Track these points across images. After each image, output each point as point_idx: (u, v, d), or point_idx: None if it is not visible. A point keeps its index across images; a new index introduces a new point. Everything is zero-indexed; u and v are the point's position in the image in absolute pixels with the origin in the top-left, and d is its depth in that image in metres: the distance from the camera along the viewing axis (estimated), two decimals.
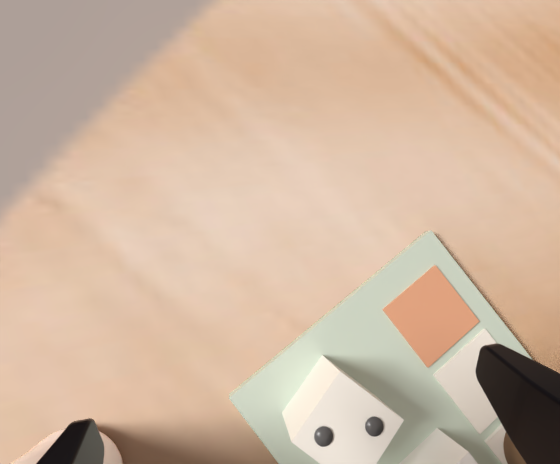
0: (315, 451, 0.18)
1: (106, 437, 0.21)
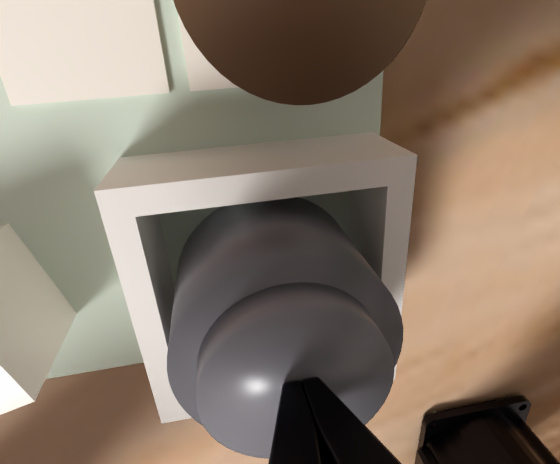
0: None
1: None
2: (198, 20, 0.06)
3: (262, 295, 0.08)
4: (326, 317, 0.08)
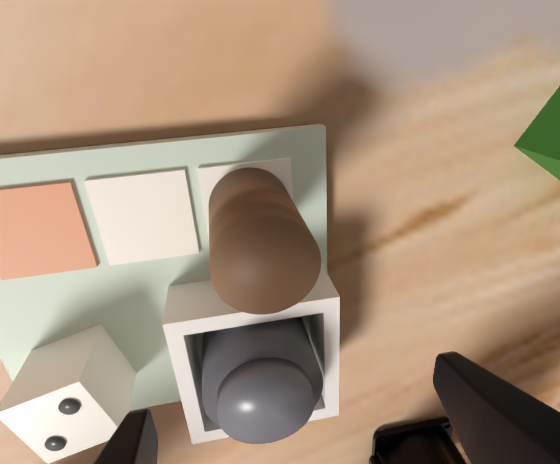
0: (67, 451, 0.19)
1: None
2: (223, 291, 0.14)
3: (248, 365, 0.18)
4: (278, 376, 0.17)
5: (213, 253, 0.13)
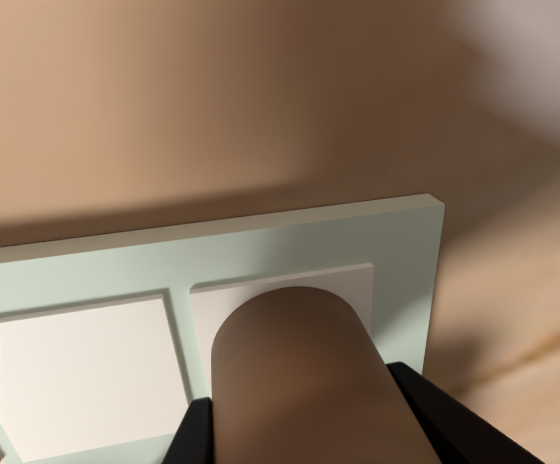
0: None
1: None
2: None
3: None
4: None
5: None
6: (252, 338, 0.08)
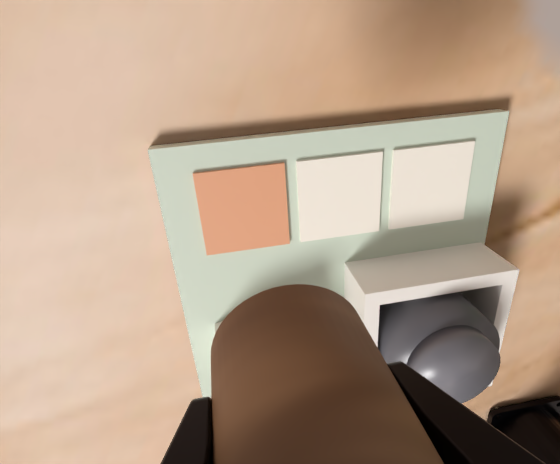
0: None
1: None
2: None
3: (444, 331, 0.19)
4: (476, 341, 0.19)
5: None
6: (252, 336, 0.08)
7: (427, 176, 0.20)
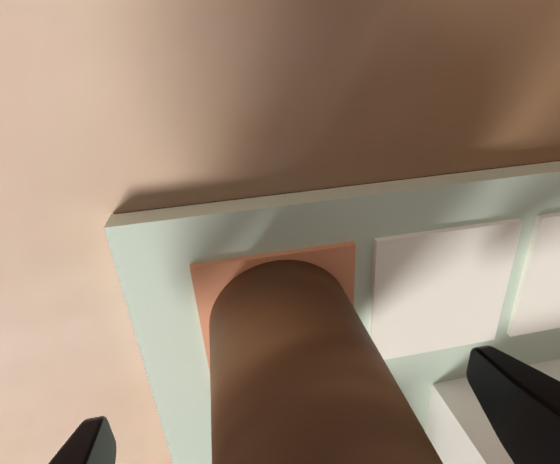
0: None
1: None
2: None
3: None
4: None
5: None
6: (245, 302, 0.09)
7: None
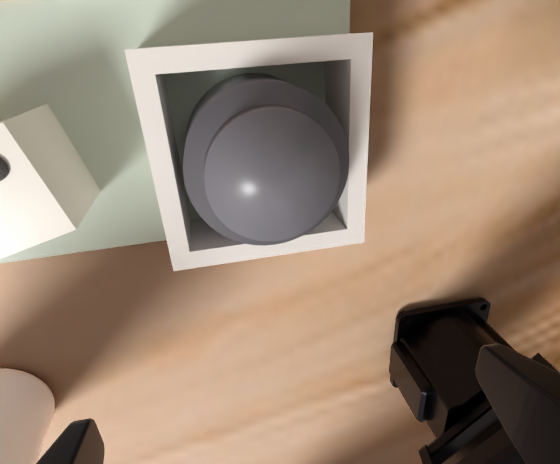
0: None
1: None
2: None
3: (248, 109, 0.12)
4: (290, 117, 0.12)
5: None
6: None
7: None
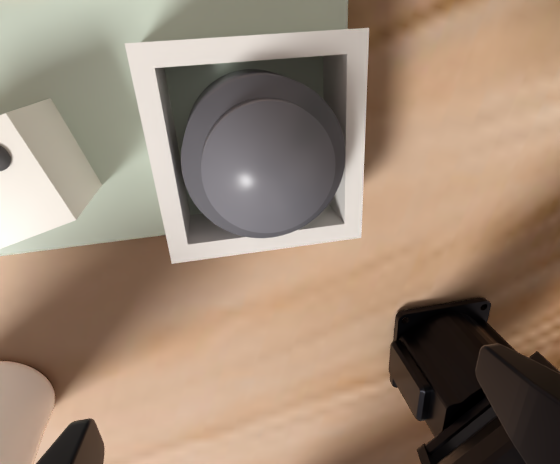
0: None
1: None
2: None
3: (245, 101, 0.13)
4: (286, 109, 0.12)
5: None
6: None
7: None
